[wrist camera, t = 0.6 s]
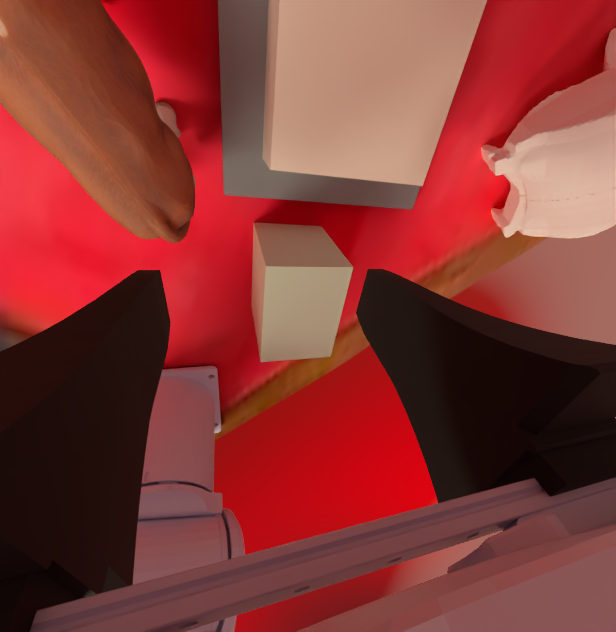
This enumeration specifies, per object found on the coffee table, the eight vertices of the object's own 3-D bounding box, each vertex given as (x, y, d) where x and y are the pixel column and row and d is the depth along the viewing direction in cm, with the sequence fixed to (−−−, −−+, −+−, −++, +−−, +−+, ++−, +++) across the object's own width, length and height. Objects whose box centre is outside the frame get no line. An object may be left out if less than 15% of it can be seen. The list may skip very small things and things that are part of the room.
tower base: (404, 204, 20) (439, 225, 17) (223, 190, 16) (225, 212, 13) (506, -109, 12) (604, -177, 9) (209, -253, 9) (204, -435, 6)
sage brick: (308, 304, 23) (330, 356, 18) (251, 305, 22) (260, 362, 17) (321, 225, 19) (353, 267, 15) (253, 222, 18) (265, 266, 13)
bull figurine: (-6, -305, 8) (-905, -1892, 2) (217, 191, 16) (217, 251, 10) (-164, -257, 8) (-1805, -1760, 1) (145, 216, 16) (99, 293, 10)
